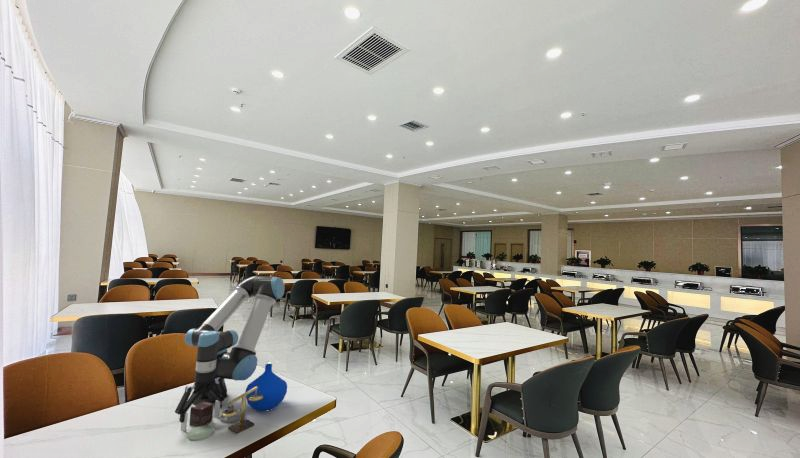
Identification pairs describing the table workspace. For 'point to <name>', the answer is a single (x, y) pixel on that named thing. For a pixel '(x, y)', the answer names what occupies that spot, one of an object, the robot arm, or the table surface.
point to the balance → (232, 411)
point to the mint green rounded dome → (200, 432)
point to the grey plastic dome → (231, 418)
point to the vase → (267, 390)
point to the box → (201, 414)
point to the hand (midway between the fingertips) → (200, 423)
